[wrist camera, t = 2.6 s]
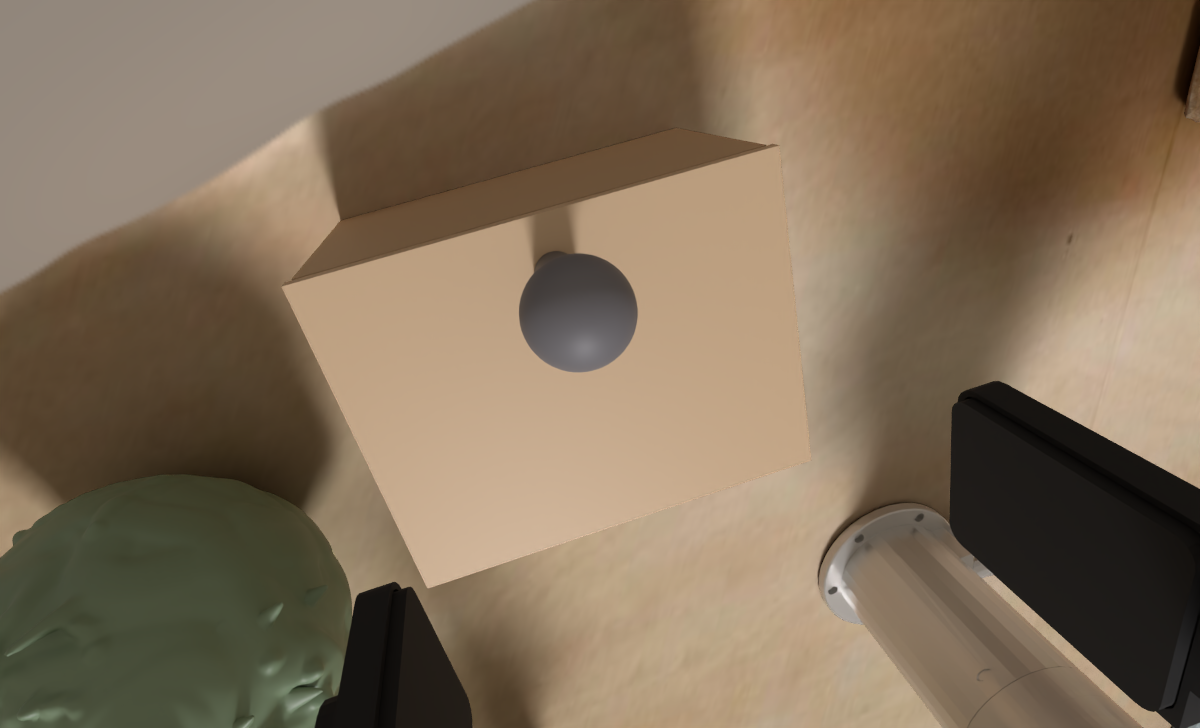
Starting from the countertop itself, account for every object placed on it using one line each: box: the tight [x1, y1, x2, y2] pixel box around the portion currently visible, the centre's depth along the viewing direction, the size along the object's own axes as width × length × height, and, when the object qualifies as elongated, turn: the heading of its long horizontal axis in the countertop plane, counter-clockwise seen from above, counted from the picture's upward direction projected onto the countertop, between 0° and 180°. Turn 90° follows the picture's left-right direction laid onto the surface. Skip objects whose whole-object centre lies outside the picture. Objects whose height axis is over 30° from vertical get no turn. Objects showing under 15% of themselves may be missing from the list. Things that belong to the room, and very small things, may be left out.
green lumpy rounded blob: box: [0, 474, 352, 728], centre depth 32 cm, size 16×19×20 cm
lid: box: [282, 144, 811, 589], centre depth 25 cm, size 20×16×8 cm
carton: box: [292, 128, 766, 280], centre depth 34 cm, size 20×16×12 cm
